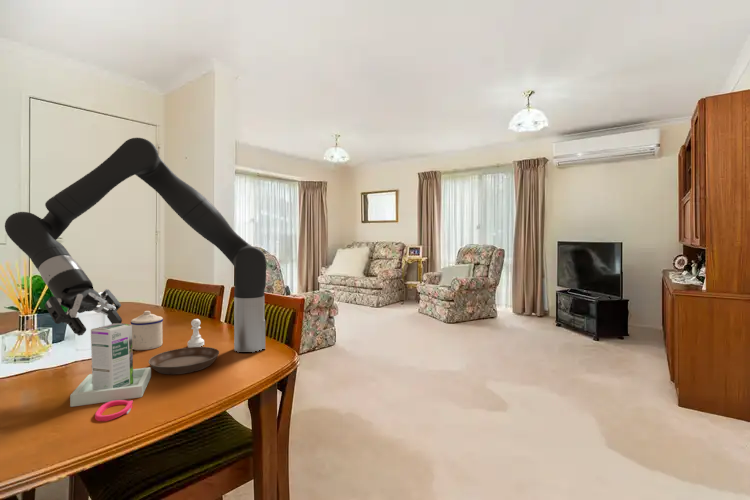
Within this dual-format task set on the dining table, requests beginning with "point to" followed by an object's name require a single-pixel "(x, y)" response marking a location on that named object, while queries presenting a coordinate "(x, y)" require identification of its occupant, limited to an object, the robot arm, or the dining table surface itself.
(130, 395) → the tray
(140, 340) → the teacup with lid
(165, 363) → the plant saucer
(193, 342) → the chess pawn
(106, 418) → the fitness band
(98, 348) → the syrup box
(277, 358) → the dining table surface
